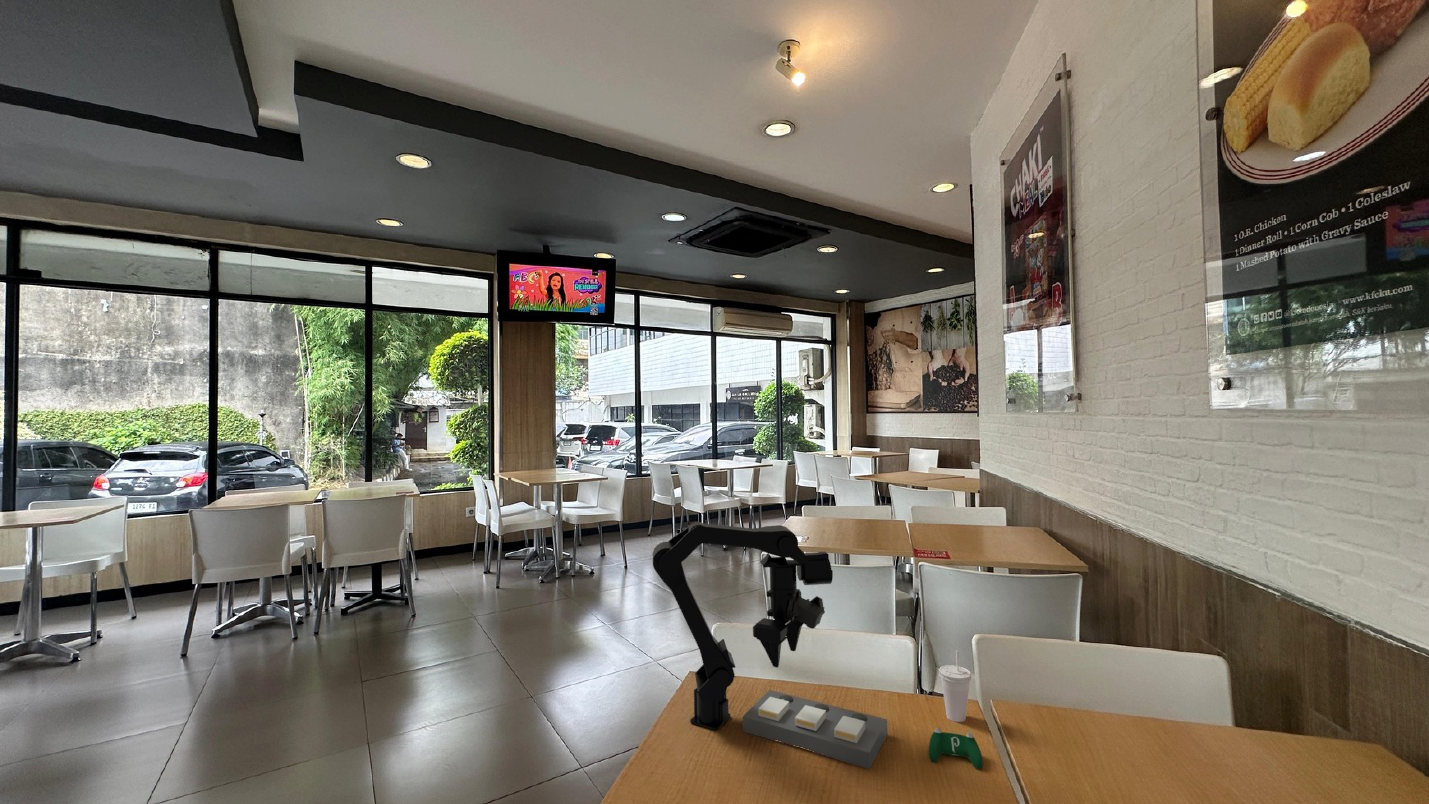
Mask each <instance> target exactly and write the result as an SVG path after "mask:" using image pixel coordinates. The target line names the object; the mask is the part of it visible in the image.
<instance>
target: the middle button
mask: <svg viewBox="0 0 1429 804" xmlns="http://www.w3.org/2000/svg"><path fill="white" fill-rule="evenodd" d="M825 719H826V710H822V709H819V708H815V707H811V706H807V705H805V706H804V707H803V709H802V710H801V711H800V712H799V713H798V715H797V716H796V717H795V725H796V726H799V727H803V728H806V729H810V730H813V731H817V730H818V728H819V727H820V725H821V724H822V723H823V721H824V720H825Z"/></svg>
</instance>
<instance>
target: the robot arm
mask: <svg viewBox="0 0 1429 804" xmlns="http://www.w3.org/2000/svg"><path fill="white" fill-rule="evenodd" d="M702 544H704V545H705V544H706V545H716V546H727V547H729V546H730V547H738V548H748V549H755V550H758V551H761V552H763V553H766V554H765V556H764V557H763V558H762V559H761V560H760V561H759V563H760V565H761V566H762V567H763V568H769V590H767V591H766V597H768V598H770V599H769V601H770V603H769V605H770V608H769V609H768V610H766V616H767V617H772V619H771V618H766V617H763V618H761V620H759V621H758V622H756V623H755V624H754V625H753V626H752V636H753V637H754V638H756V640H758V641H759V642H760V644H761V645H762V647H763V649H764V651H765V652H766V655H767V656H768V658H769V659H768V660H770V663H771V664H772V667H773V668H777V669H778V668H779V666H780V659H781V649H782V643H784V642H785V641H786V640H787V644H788V646H789V647H788V648H789V650H790V651H791V652H796V651H797V647H798V644H799V638H800V634H801V632H802V631H801V630H802V627H803V625H805V626H806V627H807V628H809V629H815V628H816V627H817V626H818V625H820V623H821V620H822V617H823V615H825V613H826V611H825V607H824V602H823V598H821V597H820V596H815V597H813V598H812V599H811V600H810V599H809V598H806V599H805V598H803V597H802V591H801V589H799V588H797V587H798V586H797V578H798V581H802V583H803V585H804V586H816V585H831V584H832V582H833V577H834V576H833V575H834V574H833V572H834V571H833V570H832V564H831V561H830V559H829V557H830V556H829V553H828V552H827V551H825V550H824V551H817V552H804V551H803V550H802V549H801V548H800V547H799V540H798V538H797V536H796V534H795V533H794V532H793V531H791V529H789V528H788V527H786V526H785V525H779V524H778V525H766V526H762V527H757V528H756V527H755V528H754V527H753V528H752V527H751V528H750V527H740V526H731V525H730V526H729V525H724V524H723V525H722V524H711V523H704V522H700V521H694V522H692V523H691V524H690V525H689V526H687V527H686V528H685V529H684V530H682V531H680V532H679V533H678V534H676V535H674V536H673V537H672V538H670V539H669V540H668V541H663V542H660V543H658V544H656V545H655V547H654V549H653V552H652V566H653V570H655V572H656V574H657V575H658V577H659V578H660V579H661V580H662V582H663V584H664V585H666V586H667V588H669V590H670V591H671V593H672V595H673V597H674V599H675V601H676V603H677V605H678V607H679V610H680V612H681V615H682V616H683V619H684V621H685V623H686V624H687V626H688V629H689V630H690V632H691V633H690V634H691V635H692V637H693V639H694V641H695V643H696V646H697V647H698V650H699V653H700V657H701V661H702V663H703V664H702V665H701V666H700V667H699V668H698V669H697V671H695V673H694V678H695V682H696V688H694V690H693V715H694V716H693V717H692V718H690V719H689V722H690V723H691V724H693V725H696V726H700V727H702V728H706V729H710V730H712V731H717V730H719V728H721V727H722V726H723V725H724V723H726V722H727V721H728V720H729V719H730V718H731V713H730V712H729V698H727V689H728V687H730V686H731V685H732V683H733V681H734V679H735V677H736V676H735V670H734V669H735V668H736V665H735V662H734V658H733V655H732V653H731V652H730V651H729V650H728V647H727V644H726V642H725V639H724V638H722V639H721V640H719V641H718V640H717V639H716V638H715V636H714V634H713V632H712V631H711V629H710V627H709V625H708V622H707V621H706V618H705V616H704V614H703V612H702V610H701V607H700V606H699V604H698V602H697V599H696V597H695V595H694V593H693V591H692V589H691V587H690V585H689V583H688V582H689V581H687V578H686V574H685V570H684V567H683V562H684V561H685V560H686V559H688V557H690V555H692V553H693V552H694V551H695V550H696V549H697V548H698V547H699V546H701V545H702ZM771 555H773V556H771ZM787 558H791V559H787Z"/></svg>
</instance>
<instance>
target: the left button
mask: <svg viewBox="0 0 1429 804" xmlns="http://www.w3.org/2000/svg"><path fill="white" fill-rule="evenodd" d="M788 710H789V701H785V700H781V699H777V698H773V697H769V698H768V699H767V700H766V701H765V702H764V703H763V704H762V705H761V706H760V707H759V716H761V717H764V718H768V719H772V720H775V721H779V720H780V719H781V718H782V717H783V716H784V714H785V713H786V712H787V711H788Z"/></svg>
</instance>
